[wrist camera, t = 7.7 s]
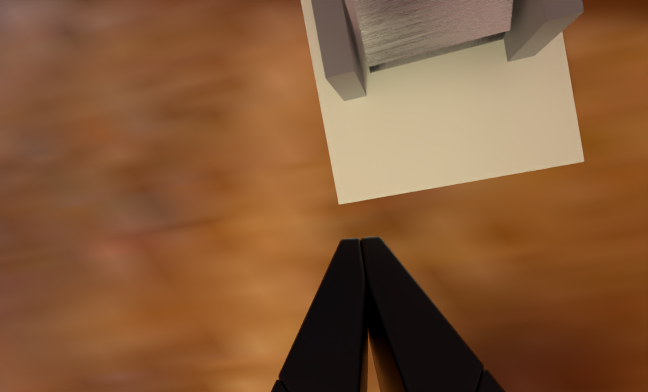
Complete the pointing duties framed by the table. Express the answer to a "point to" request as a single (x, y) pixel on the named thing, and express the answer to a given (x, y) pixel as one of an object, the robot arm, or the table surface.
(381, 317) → the robot arm
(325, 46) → the block
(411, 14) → the lever
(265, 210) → the table surface
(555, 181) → the table surface
